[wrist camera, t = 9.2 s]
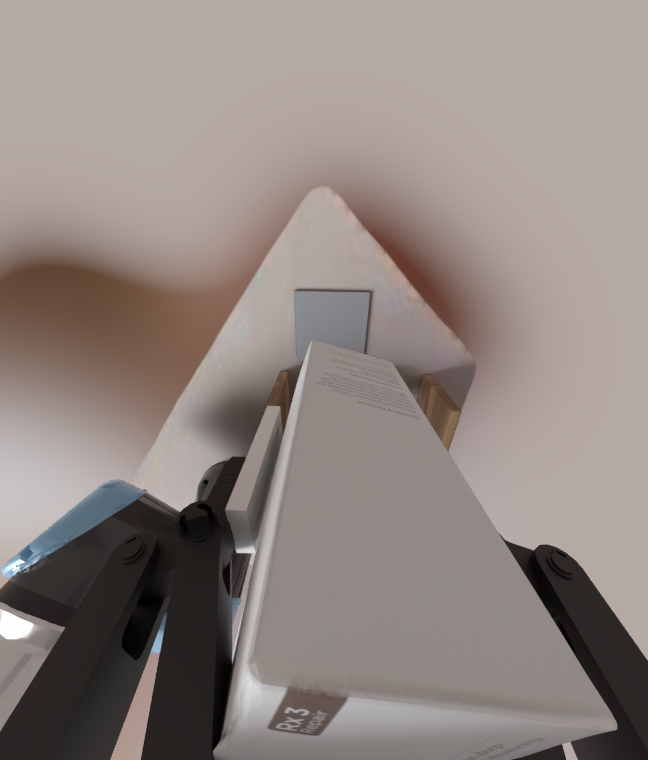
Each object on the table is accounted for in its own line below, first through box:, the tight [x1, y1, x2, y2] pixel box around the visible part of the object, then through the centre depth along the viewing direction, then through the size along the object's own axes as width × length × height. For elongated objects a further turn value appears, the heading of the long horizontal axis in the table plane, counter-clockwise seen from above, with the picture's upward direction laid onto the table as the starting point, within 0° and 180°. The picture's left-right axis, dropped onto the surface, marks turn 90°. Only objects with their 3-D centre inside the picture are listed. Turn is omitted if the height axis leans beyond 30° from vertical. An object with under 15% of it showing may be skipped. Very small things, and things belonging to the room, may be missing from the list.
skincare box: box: [212, 340, 617, 760], centre depth 11 cm, size 8×6×15 cm
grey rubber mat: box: [294, 291, 370, 361], centre depth 34 cm, size 10×10×1 cm
